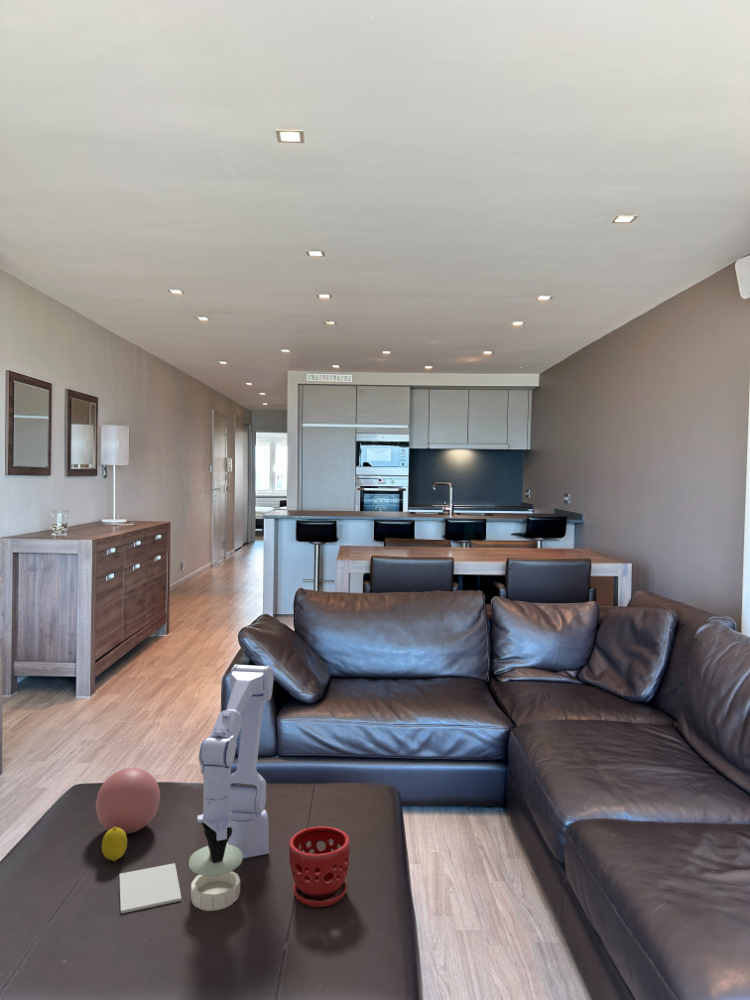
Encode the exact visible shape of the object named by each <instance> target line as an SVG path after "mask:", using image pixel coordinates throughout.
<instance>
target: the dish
mask: <svg viewBox="0 0 750 1000" xmlns="http://www.w3.org/2000/svg"><path fill="white" fill-rule="evenodd" d="M240 893H241V878H240V876H239V874H238V873H236V872H235V871H234V870H233V871H231V872H229V873H226V874H223V875H218V876H203V875H199V874H197V875H196V876H195V877H194V879H193V880H192V881H191V884H190V897H191V898H190V900H191V904H192V905H193V907H195V908H196V909H198V908H199V909H198V910H201V911H204V912H205V911H206V912H215V911H221V910H224V909H227V908H229V907H231V906H232V905H233V903H234V902H235V901H236V900H237V901H238V899H239V897H240ZM237 901H236V902H237ZM236 902H235V903H236ZM235 903H234V904H235ZM230 905H231V906H230ZM226 907H227V908H226ZM220 909H221V910H220Z"/></svg>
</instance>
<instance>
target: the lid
mask: <svg viewBox="0 0 750 1000" xmlns="http://www.w3.org/2000/svg"><path fill="white" fill-rule="evenodd" d="M243 860H244V859H243V854H242V851H241V850H240V849H239V848H237V847H235V846H232V845H228V844H227V845H226V848H225V853H224V857H223V861H220V862H215V863H213V862H212V858H211V853H210V851H209V847H208V845H207V846H204V847H201V848H199V849H197V850H196V851H194V852H193V853H192V854H191V855H190V857H189V860H188V865H189V869H190V870H191V871H192V872H193V873H194V874H197V875H203V876H218V875H223V874H226V873H229V872H231V871H233V872H234V870H237V868H239V867H240V866H241V864H242V863H243Z"/></svg>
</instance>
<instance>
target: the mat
mask: <svg viewBox="0 0 750 1000" xmlns="http://www.w3.org/2000/svg"><path fill="white" fill-rule="evenodd" d="M181 894H182V893H181V889H180V883H179V877H178V871H177V867H176V862H174V863H168V864H164V865H163V864H162V865H159V866H153V867H148V868H147V867H146V868H143V869H138V870H132V871H127V872H121V873H119V897H120V902H119V903H120V914H126V913H131V912H134V911H140V910H144V909H150V908H154V907H159V906H163V905H168V904H171V903H176V902H177V901H178V902H182V895H181Z"/></svg>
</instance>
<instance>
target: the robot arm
mask: <svg viewBox="0 0 750 1000" xmlns="http://www.w3.org/2000/svg"><path fill="white" fill-rule="evenodd" d="M274 677H275V676H274V669H273V668H272V666H270V665H249V664H239V663H236V664H234V665H233V666H232V668H231V670H230V671H229V686H230V691H231V694H230V697H229V700H228V703H227V707H226V709H225V710H222V711H221V712H220V713H219V714H218V716H217V719H216V721H215V723H214V726H213V728H212V730H211V733H210V734H209V737H207V738H206V739H203V741H201V744H200V746H199V747H200V748H199V754H198V762H199V766H200V773H201V775H203V779H202V780H203V782H202V783H203V785H202V787H203V789H202V798H203V799H202V805H203V806H202V814H198V815H197V817H196V819H197V823H199V824H200V823H201V825H202V827H203V829H204V830H203V831H204V836H205V838H206V840H207V846H208V847H209V851H210V853H211V858H212V862H213V863H215V862H220V861H223V857H224V853H225V848H226V845H227V844H228V845H232V846H235V847H237V848H239V849H240V850H241V851H242V854H243V860H244V859H248V858H252V857H253V858H254V857H257V856H263V855H267V854H269V853H270V851H269V834H270V833H269V830H270V829H269V828H270V827H269V826H270V825H269V817H268V813H267V810H266V809H265V807H266V803H267V781H266V779H265V778H264V777H263V776H262V775H261V774H260V773H259V772H258V771H257V766H258V760H259V759H258V757H259V749H260V740H261V739H260V738H261V730H262V723H263V722H262V721H263V713H264V708H265V703H266V702H268V701H270V700H271V699H272V695H273V689H274V687H273V686H274V680H275V679H274ZM239 734H240V740H239V747H238V756H237V765H236V771H234V772H232V771H231V770H232V767H231V766H232V764H233V762H234V760H235V754H236V750H237V744H238V743H237V739H238V736H239ZM239 784H241V785H239ZM242 784H244V785H242Z"/></svg>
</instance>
